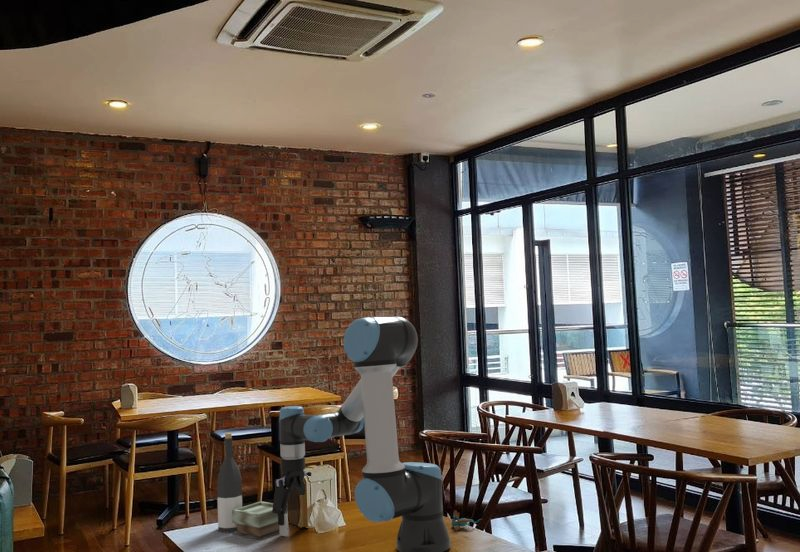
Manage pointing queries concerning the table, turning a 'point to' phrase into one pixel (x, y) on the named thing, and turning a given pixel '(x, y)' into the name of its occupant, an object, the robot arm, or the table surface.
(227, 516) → the wine bottle
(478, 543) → the table surface
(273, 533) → the two-tone layered tray
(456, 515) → the dragon figurine
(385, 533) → the table surface
